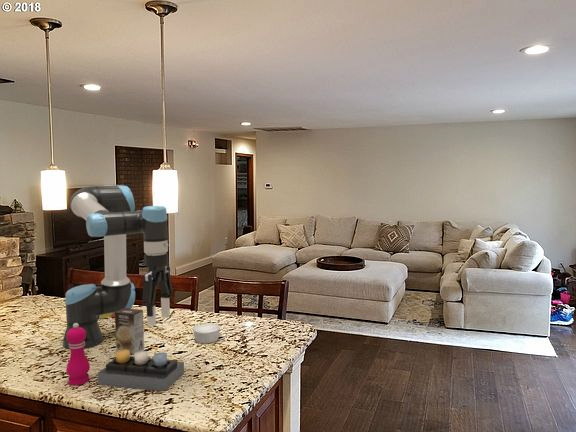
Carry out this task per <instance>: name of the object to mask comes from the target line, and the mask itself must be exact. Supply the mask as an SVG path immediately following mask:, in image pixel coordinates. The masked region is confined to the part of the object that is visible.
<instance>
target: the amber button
mask: <svg viewBox="0 0 576 432" xmlns="http://www.w3.org/2000/svg"><path fill="white" fill-rule="evenodd" d="M130 357H131V354H130V352H129V350H127V349H123V350H119V351H117V352H116V351H115V358H116V362H117V363H119V364H125V365H126V364H127V362H128V361H129V360H130Z"/></svg>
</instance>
